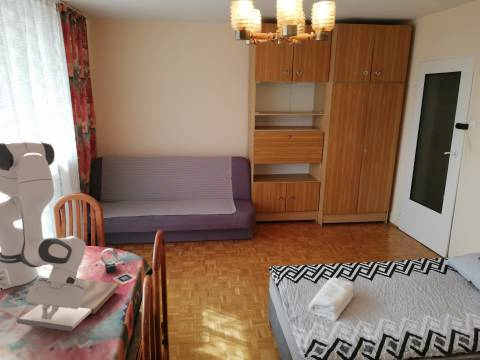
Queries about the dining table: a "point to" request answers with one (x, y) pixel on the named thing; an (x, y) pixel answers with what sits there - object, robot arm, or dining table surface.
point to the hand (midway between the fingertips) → (45, 319)
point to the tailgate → (55, 318)
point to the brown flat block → (97, 294)
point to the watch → (110, 264)
